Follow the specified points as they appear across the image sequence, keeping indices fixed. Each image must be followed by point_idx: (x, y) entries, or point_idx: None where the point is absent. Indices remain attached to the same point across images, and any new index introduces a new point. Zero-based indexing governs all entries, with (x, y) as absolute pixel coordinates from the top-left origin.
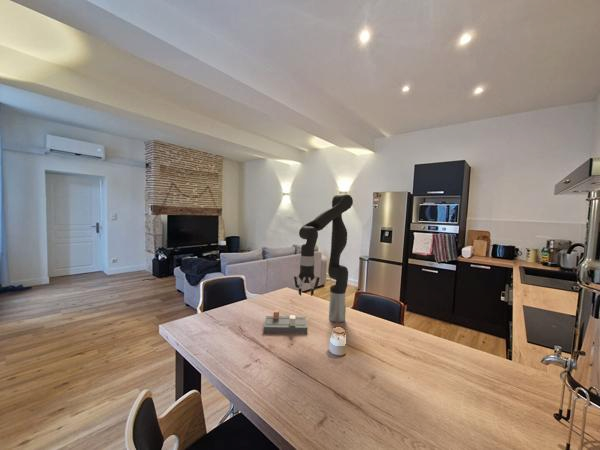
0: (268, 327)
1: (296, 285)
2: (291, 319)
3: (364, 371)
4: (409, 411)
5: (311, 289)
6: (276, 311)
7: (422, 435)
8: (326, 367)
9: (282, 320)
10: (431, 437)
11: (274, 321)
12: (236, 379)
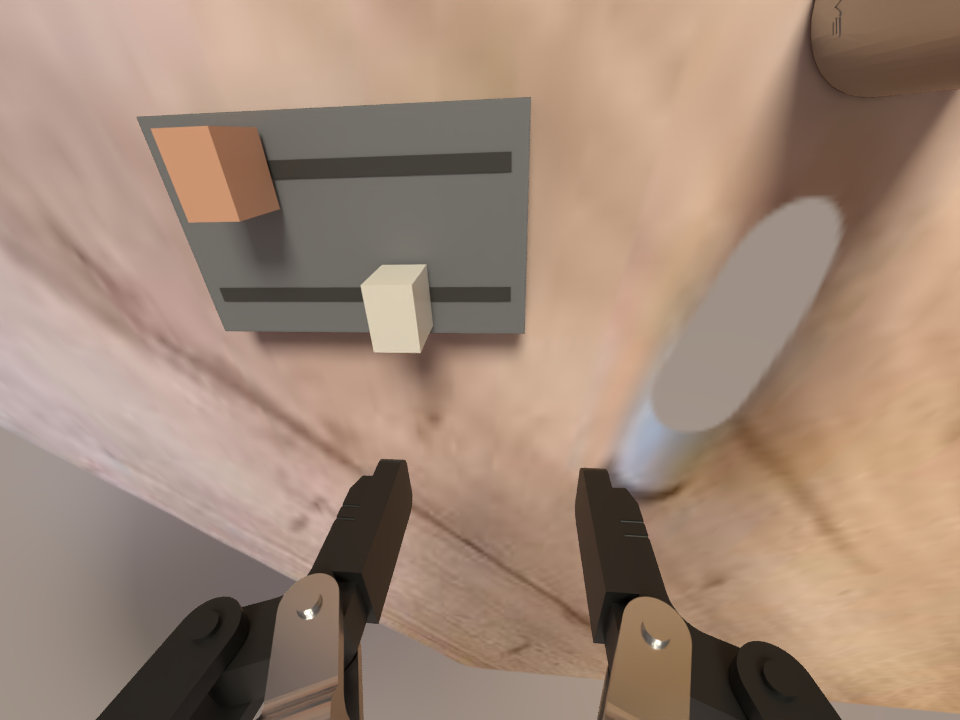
0: (257, 330)
1: (230, 708)
2: (389, 348)
3: (702, 564)
4: None
5: (595, 636)
6: (207, 200)
7: None
8: (569, 543)
9: (316, 216)
10: None
11: (260, 240)
12: (297, 563)
